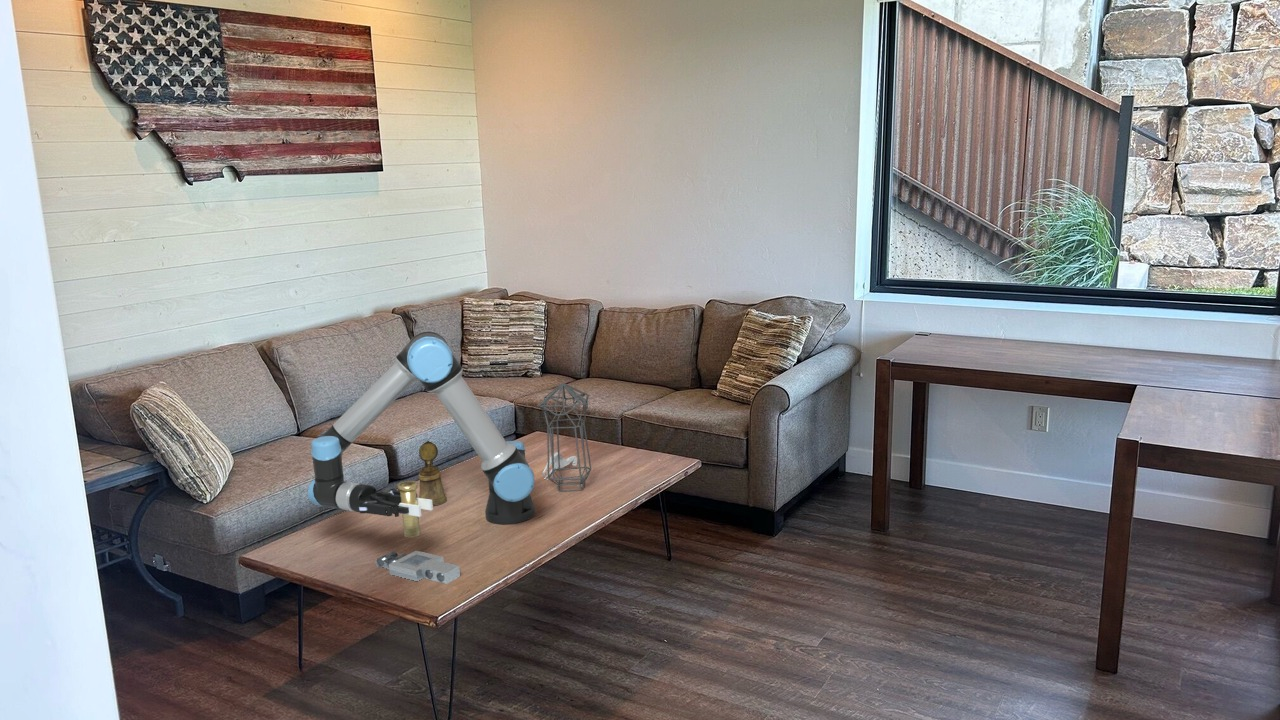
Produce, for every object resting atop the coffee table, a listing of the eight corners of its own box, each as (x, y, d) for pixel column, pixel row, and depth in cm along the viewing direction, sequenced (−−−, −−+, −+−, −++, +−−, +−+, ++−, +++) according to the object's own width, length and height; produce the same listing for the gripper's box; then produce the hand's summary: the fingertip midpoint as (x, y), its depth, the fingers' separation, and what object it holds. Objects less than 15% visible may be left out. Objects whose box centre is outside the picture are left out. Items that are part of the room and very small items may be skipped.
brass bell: (447, 491, 310) (441, 439, 306) (446, 504, 297) (441, 450, 293) (419, 494, 308) (414, 442, 304) (418, 508, 295) (412, 453, 291)
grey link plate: (368, 569, 250) (367, 559, 249) (396, 555, 258) (395, 545, 257) (439, 587, 236) (438, 576, 235) (466, 572, 244) (465, 562, 244)
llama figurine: (553, 495, 319) (579, 462, 331) (544, 470, 313) (570, 437, 325) (549, 494, 319) (575, 461, 332) (539, 469, 314) (566, 436, 326)
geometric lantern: (544, 495, 300) (535, 390, 294) (551, 481, 316) (543, 380, 310) (593, 493, 299) (584, 387, 293) (597, 478, 315) (590, 377, 309)
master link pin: (422, 530, 248) (417, 479, 245) (421, 537, 243) (416, 486, 240) (403, 531, 247) (398, 481, 244) (401, 538, 242) (396, 487, 239)
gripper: (380, 500, 259) (447, 510, 249) (336, 521, 245) (405, 533, 234) (378, 474, 258) (445, 484, 247) (333, 494, 243) (402, 505, 233)
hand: (425, 508), depth 241 cm, fingers closed on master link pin, 4 cm apart
